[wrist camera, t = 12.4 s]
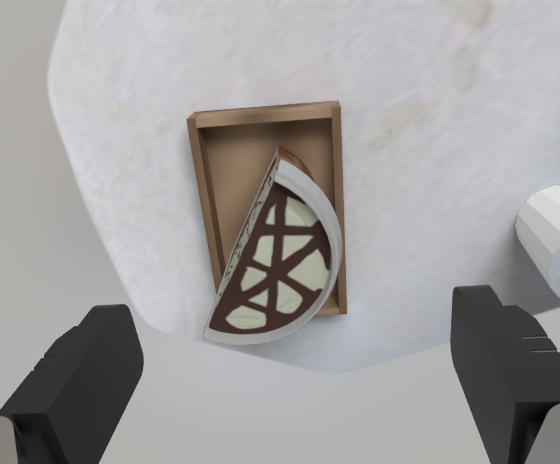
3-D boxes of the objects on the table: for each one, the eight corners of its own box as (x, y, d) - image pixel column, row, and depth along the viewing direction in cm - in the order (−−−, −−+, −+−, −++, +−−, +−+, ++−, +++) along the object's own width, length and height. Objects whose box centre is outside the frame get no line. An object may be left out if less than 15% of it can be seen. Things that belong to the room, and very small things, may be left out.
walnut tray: (338, 100, 32) (340, 107, 30) (344, 296, 39) (347, 314, 37) (194, 112, 33) (186, 119, 31) (225, 301, 40) (220, 319, 38)
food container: (294, 292, 38) (289, 378, 29) (225, 264, 38) (199, 344, 29) (364, 161, 33) (385, 217, 24) (286, 126, 32) (278, 170, 23)
